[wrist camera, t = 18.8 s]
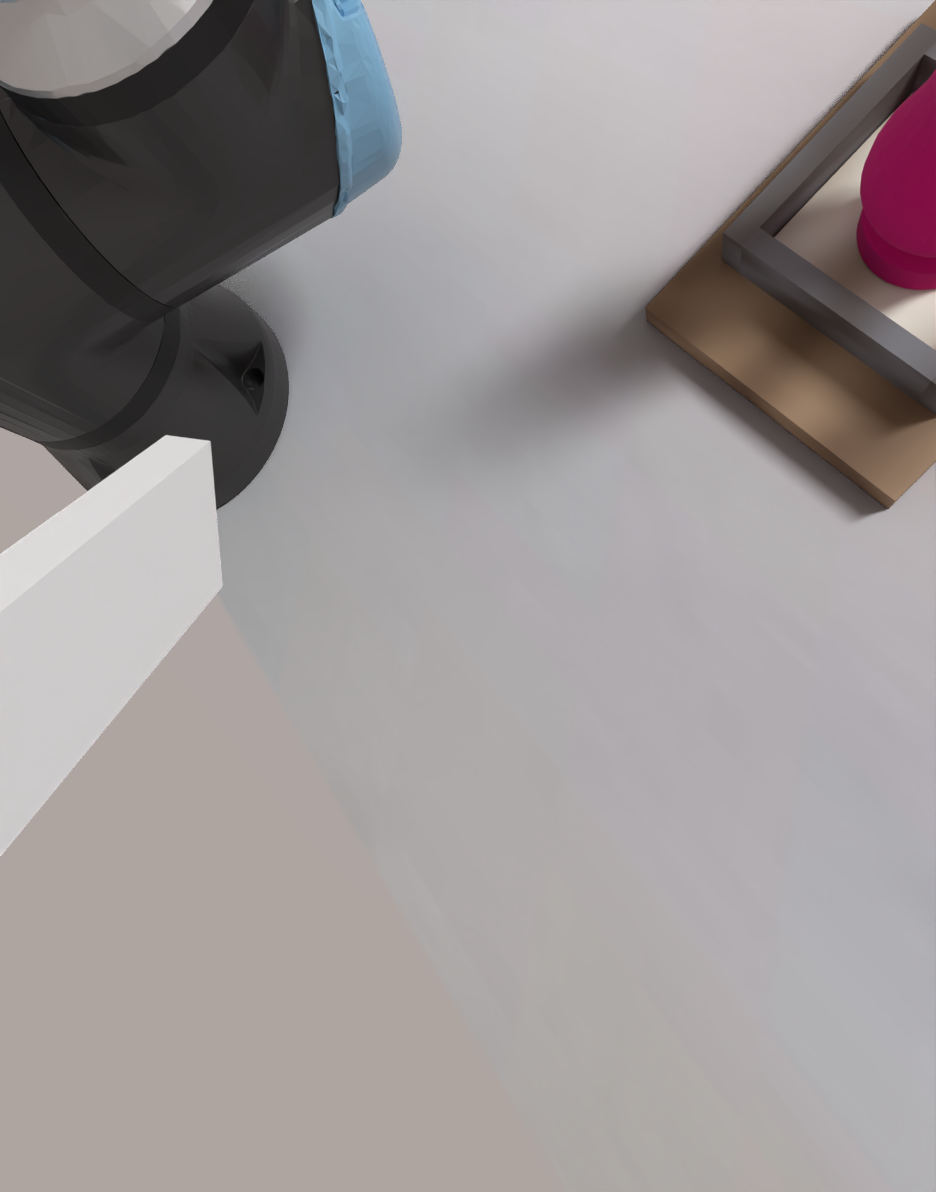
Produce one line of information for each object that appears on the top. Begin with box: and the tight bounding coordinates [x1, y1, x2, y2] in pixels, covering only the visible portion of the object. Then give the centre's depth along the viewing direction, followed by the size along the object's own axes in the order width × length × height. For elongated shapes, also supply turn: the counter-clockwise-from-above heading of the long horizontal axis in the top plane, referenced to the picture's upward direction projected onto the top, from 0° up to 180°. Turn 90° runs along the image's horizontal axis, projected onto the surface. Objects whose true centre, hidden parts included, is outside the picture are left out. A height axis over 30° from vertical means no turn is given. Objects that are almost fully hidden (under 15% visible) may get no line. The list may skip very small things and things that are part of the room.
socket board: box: [645, 0, 936, 509], centre depth 40 cm, size 16×22×4 cm
